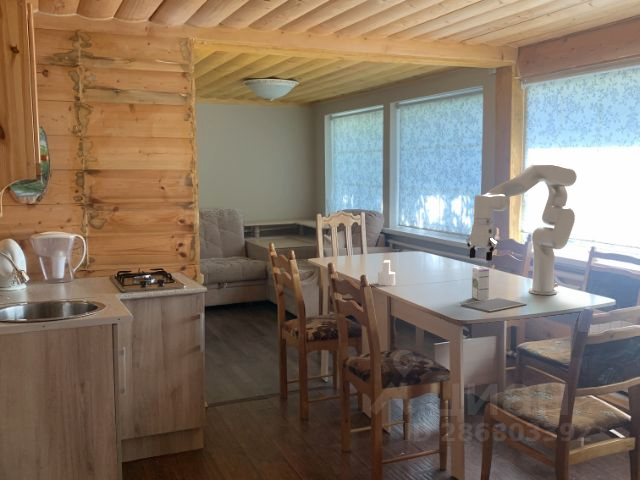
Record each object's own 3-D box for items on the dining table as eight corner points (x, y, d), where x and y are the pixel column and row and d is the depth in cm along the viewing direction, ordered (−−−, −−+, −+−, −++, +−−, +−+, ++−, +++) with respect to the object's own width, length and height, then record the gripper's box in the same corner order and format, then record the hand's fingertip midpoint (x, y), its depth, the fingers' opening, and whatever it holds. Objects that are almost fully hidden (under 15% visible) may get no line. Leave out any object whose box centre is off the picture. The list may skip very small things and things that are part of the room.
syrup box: (489, 299, 293) (490, 268, 291) (477, 300, 291) (478, 268, 289) (482, 297, 298) (483, 266, 296) (471, 297, 296) (472, 266, 295)
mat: (497, 298, 294) (497, 297, 294) (526, 305, 281) (526, 303, 281) (460, 305, 280) (460, 304, 280) (489, 312, 267) (489, 310, 267)
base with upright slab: (394, 286, 325) (394, 262, 323) (376, 285, 327) (377, 262, 325) (396, 282, 334) (396, 260, 332) (378, 282, 335) (379, 259, 334)
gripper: (502, 223, 285) (501, 261, 287) (473, 220, 299) (471, 256, 301) (491, 223, 281) (489, 262, 283) (462, 220, 295) (460, 257, 297)
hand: (480, 259), depth 292 cm, fingers open, 9 cm apart
